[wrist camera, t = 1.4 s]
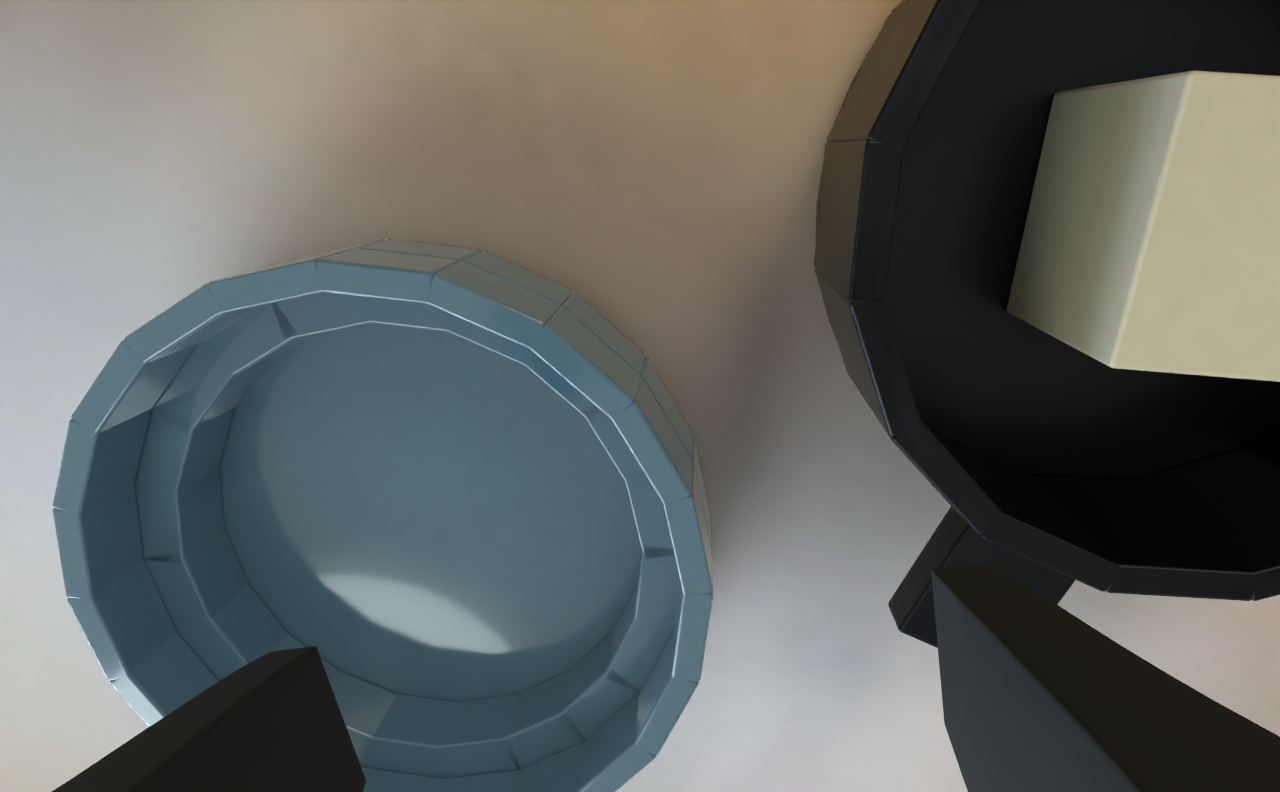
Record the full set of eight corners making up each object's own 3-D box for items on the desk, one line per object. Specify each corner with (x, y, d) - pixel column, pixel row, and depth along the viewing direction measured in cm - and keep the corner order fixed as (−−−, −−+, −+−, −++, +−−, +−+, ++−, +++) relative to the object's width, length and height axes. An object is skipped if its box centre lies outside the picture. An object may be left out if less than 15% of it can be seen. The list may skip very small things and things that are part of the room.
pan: (1755, -118, 13) (2234, -239, 9) (1131, 660, 19) (1252, 803, 15) (1120, -462, 13) (1328, -765, 8) (667, 455, 18) (657, 547, 14)
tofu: (1285, 106, 15) (1520, 89, 10) (1216, 329, 16) (1398, 392, 12) (1053, 91, 15) (1190, 69, 11) (1004, 312, 16) (1109, 368, 12)
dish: (805, 388, 18) (833, 451, 14) (582, 799, 22) (559, 928, 18) (248, 137, 17) (123, 134, 13) (128, 615, 21) (10, 712, 17)
